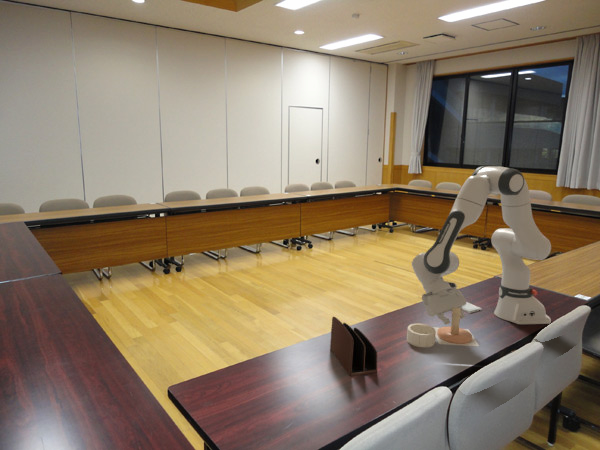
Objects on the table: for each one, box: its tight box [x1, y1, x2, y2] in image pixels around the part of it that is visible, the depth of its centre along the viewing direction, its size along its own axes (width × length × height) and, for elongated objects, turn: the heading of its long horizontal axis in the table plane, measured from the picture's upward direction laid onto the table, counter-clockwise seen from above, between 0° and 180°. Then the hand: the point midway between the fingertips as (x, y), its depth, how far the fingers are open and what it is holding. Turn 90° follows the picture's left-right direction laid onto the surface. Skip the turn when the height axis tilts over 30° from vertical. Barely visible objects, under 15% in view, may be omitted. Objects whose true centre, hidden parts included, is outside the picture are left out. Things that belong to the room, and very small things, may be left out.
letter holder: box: [329, 316, 378, 377], centre depth 148 cm, size 10×20×14 cm, turn 15°
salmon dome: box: [437, 307, 473, 344], centre depth 166 cm, size 13×13×12 cm
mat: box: [432, 326, 480, 347], centre depth 167 cm, size 15×15×1 cm
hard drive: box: [462, 301, 483, 314], centre depth 199 cm, size 2×8×12 cm
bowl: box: [406, 323, 436, 348], centre depth 162 cm, size 10×10×6 cm
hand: (455, 321), depth 166 cm, fingers open, 8 cm apart
